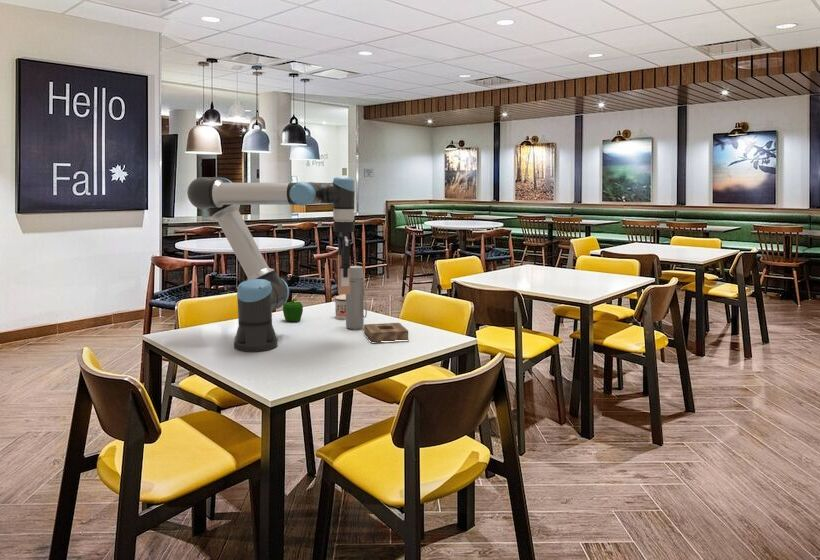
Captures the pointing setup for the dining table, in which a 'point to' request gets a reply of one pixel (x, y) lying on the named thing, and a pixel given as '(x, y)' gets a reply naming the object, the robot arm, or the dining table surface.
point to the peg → (341, 289)
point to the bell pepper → (292, 310)
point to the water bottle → (356, 299)
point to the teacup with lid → (340, 306)
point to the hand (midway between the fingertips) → (343, 284)
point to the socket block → (385, 332)
